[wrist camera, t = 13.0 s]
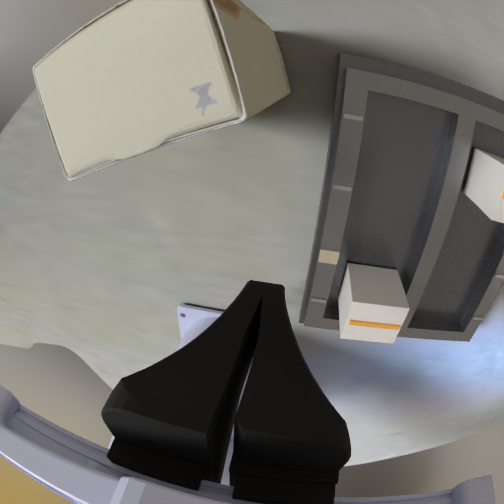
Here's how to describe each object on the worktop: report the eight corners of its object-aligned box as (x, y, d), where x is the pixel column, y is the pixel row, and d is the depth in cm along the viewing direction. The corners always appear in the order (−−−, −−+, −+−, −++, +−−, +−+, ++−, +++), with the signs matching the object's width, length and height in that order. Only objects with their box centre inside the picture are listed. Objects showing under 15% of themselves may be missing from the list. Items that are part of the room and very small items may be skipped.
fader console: (459, 329, 23) (467, 350, 21) (299, 312, 25) (297, 334, 23) (536, 119, 13) (557, 127, 11) (338, 54, 15) (343, 50, 13)
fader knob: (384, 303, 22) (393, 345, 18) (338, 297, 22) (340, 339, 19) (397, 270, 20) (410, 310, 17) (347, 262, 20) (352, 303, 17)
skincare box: (274, 28, 15) (213, -44, 5) (293, 95, 17) (264, 120, 7) (174, 59, 17) (24, 65, 6) (193, 120, 19) (63, 187, 8)
